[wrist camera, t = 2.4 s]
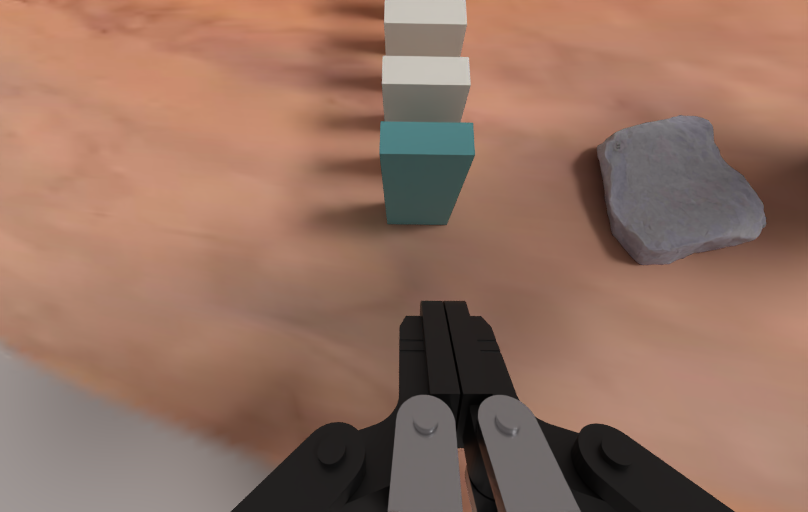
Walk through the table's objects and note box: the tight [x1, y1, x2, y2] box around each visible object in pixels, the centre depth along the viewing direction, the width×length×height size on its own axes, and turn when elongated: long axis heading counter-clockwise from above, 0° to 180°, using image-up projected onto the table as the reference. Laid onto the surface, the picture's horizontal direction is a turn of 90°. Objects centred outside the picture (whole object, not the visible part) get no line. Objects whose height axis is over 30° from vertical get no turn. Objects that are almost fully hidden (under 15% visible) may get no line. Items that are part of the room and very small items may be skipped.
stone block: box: [597, 115, 766, 265], centre depth 25 cm, size 12×5×10 cm
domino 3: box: [380, 121, 475, 225], centre depth 21 cm, size 2×5×10 cm, turn 90°
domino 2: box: [382, 56, 471, 123], centre depth 22 cm, size 2×5×10 cm, turn 90°
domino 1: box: [384, 0, 467, 57], centre depth 23 cm, size 2×5×10 cm, turn 89°
